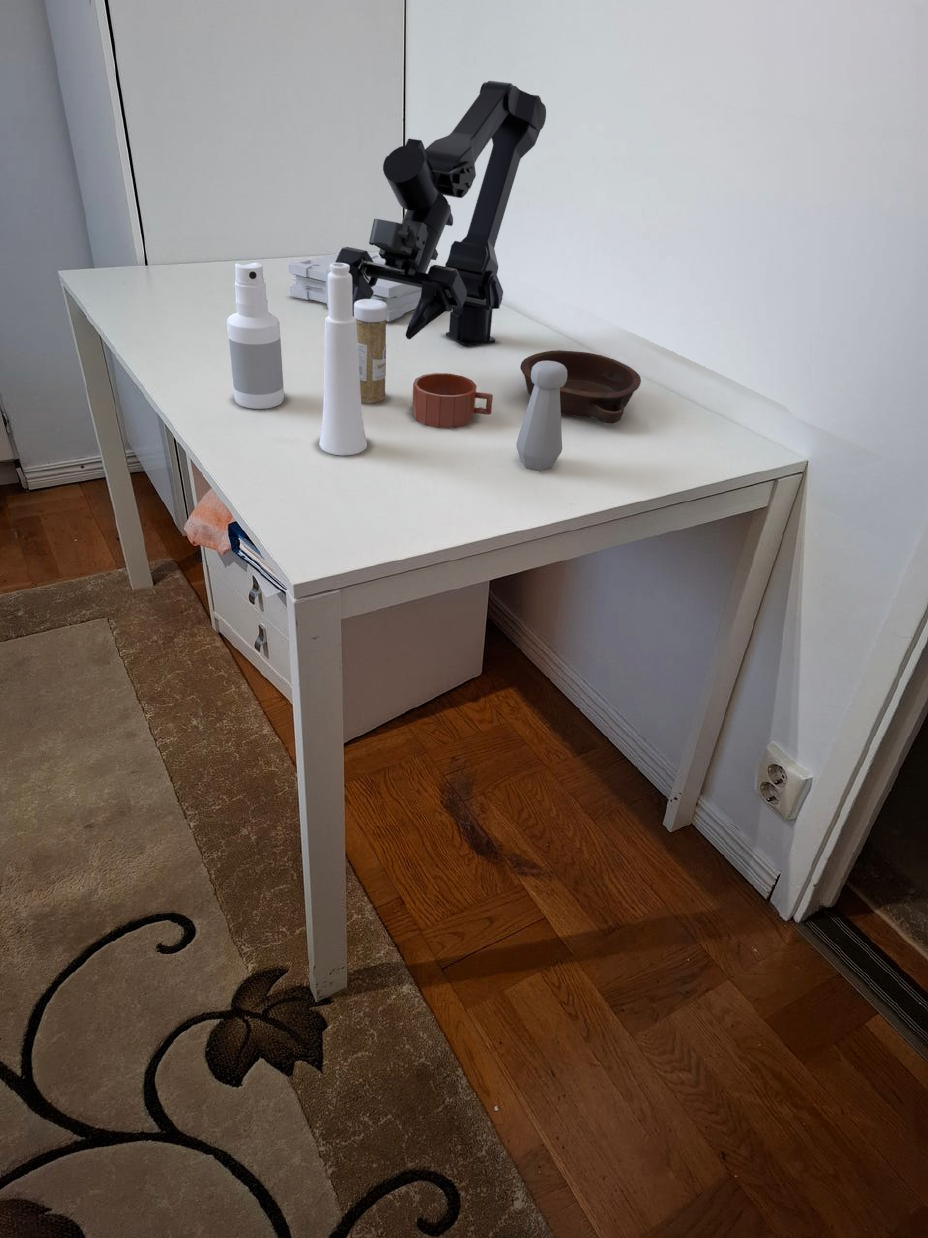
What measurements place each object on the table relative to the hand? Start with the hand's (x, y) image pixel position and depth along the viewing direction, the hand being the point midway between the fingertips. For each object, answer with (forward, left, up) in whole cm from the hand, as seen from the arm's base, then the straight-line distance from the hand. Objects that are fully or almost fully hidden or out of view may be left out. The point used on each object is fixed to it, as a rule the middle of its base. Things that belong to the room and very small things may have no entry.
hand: (379, 330), depth 115 cm
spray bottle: (+17, -4, -9) cm, 19 cm away
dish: (-25, +15, -9) cm, 31 cm away
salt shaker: (-7, +29, -9) cm, 31 cm away
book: (-19, -44, -9) cm, 48 cm away
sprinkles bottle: (+2, +1, -9) cm, 10 cm away
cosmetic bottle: (+13, +14, -9) cm, 21 cm away
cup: (-5, +11, -9) cm, 16 cm away
